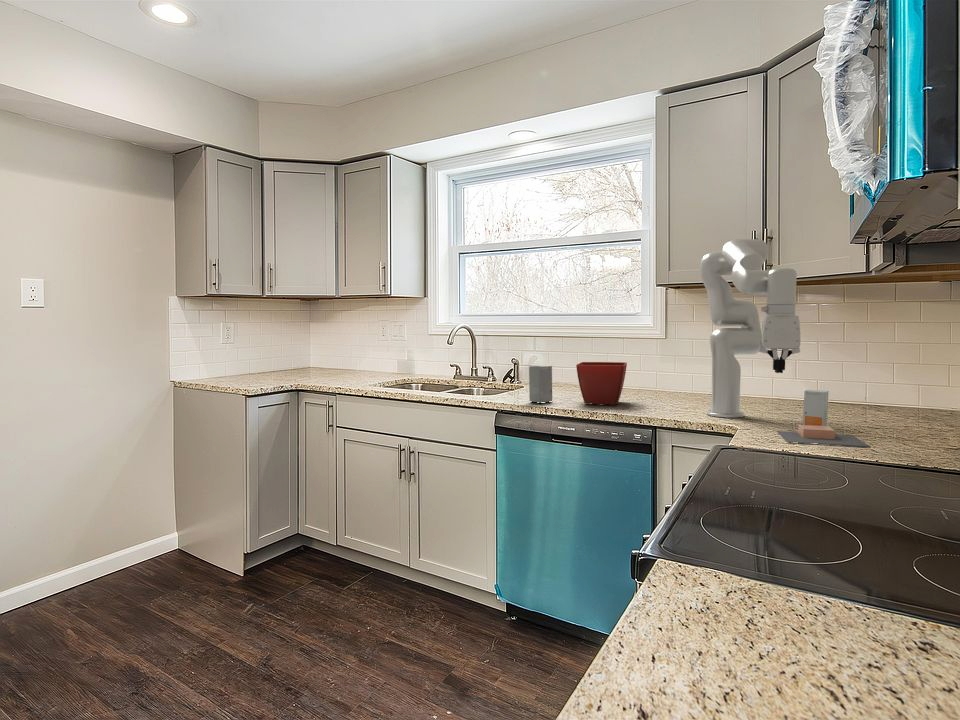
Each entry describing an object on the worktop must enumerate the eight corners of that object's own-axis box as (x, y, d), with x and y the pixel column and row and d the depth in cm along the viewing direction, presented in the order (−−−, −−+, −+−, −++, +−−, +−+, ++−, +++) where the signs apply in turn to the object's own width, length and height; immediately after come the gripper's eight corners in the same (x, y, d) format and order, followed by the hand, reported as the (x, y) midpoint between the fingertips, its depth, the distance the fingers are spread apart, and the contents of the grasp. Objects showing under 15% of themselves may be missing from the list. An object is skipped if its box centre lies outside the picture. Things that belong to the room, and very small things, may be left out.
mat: (777, 432, 174) (777, 431, 174) (851, 436, 167) (851, 434, 167) (787, 443, 158) (787, 441, 158) (870, 447, 152) (870, 446, 152)
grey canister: (540, 404, 234) (540, 366, 233) (527, 402, 239) (527, 365, 238) (553, 402, 239) (553, 365, 238) (540, 400, 245) (541, 364, 243)
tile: (797, 424, 170) (828, 426, 168) (797, 432, 170) (827, 434, 168) (803, 429, 164) (834, 430, 161) (803, 437, 164) (834, 439, 161)
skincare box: (802, 427, 182) (803, 390, 181) (806, 425, 185) (807, 389, 184) (823, 429, 177) (825, 392, 176) (827, 427, 180) (828, 390, 179)
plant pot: (581, 399, 248) (582, 361, 247) (626, 401, 242) (627, 362, 241) (575, 405, 230) (575, 364, 229) (623, 407, 224) (624, 365, 223)
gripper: (754, 310, 165) (753, 373, 167) (812, 310, 161) (810, 374, 162) (751, 311, 172) (749, 370, 174) (806, 310, 168) (803, 372, 169)
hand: (778, 372), depth 168 cm, fingers closed
